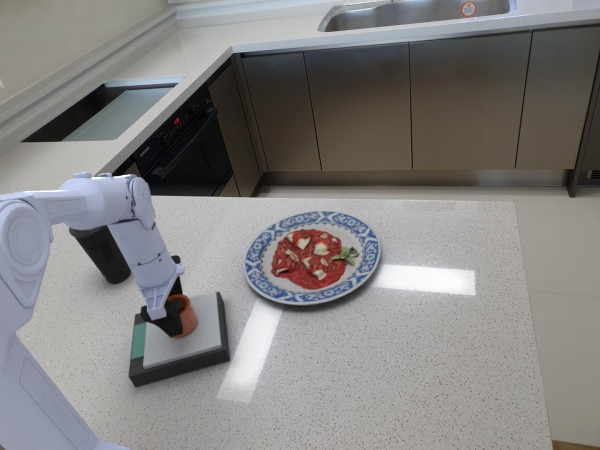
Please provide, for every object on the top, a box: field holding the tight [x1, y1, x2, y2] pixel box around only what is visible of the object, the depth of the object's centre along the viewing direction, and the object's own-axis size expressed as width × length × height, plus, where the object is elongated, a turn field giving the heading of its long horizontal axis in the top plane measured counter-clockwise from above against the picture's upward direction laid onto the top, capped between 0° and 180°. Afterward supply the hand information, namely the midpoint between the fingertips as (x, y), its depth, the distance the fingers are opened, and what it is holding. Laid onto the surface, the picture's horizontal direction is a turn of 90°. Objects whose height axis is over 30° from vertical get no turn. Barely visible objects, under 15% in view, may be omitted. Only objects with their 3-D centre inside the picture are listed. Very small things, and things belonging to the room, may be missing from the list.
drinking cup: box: [68, 225, 132, 285], centre depth 87 cm, size 8×8×20 cm
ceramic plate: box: [242, 210, 381, 306], centre depth 86 cm, size 26×26×3 cm
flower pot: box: [166, 294, 198, 338], centre depth 73 cm, size 5×6×4 cm
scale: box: [127, 290, 231, 388], centre depth 75 cm, size 15×13×4 cm
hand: (176, 315), depth 73 cm, fingers open, 7 cm apart
